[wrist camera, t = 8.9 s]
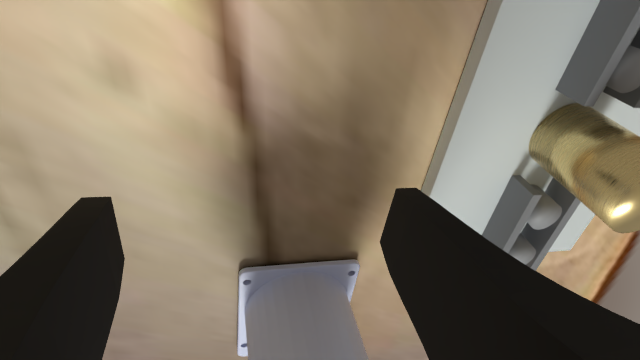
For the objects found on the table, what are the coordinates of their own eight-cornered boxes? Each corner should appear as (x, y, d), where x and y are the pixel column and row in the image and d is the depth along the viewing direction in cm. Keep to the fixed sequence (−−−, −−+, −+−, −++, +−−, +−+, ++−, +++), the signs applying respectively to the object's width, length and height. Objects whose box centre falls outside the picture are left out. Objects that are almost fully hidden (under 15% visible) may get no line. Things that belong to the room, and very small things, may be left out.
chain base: (561, 240, 31) (590, 269, 28) (399, 253, 27) (416, 287, 25) (756, -49, 19) (831, -41, 17) (521, -94, 16) (575, -91, 13)
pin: (572, 162, 24) (658, 229, 19) (517, 164, 23) (593, 236, 19) (607, 102, 22) (714, 164, 17) (547, 103, 21) (643, 167, 16)
